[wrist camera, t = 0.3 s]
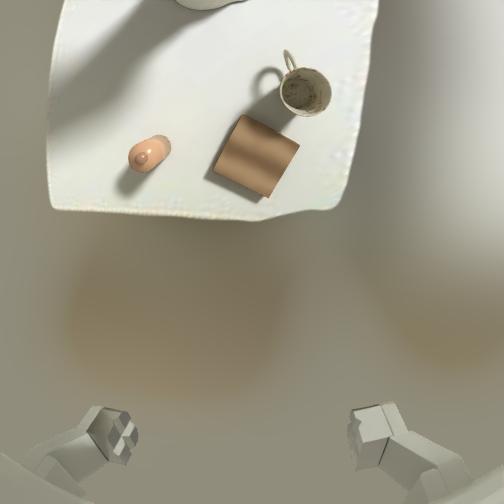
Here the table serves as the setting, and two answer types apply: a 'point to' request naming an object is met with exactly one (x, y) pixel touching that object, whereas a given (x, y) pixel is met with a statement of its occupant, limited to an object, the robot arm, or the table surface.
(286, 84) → the mug
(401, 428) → the robot arm
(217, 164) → the pedestal
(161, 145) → the canister
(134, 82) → the table surface
